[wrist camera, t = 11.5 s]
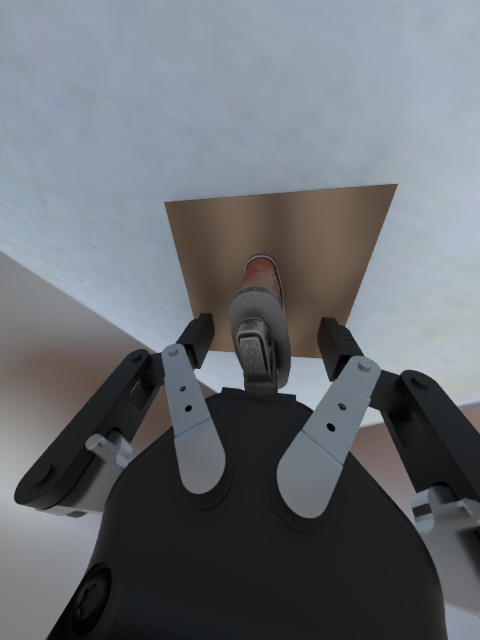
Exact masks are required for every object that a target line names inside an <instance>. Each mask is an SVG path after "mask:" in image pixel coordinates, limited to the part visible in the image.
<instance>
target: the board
mask: <svg viewBox="0 0 480 640" xmlns="http://www.w3.org/2000/svg"><path fill="white" fill-rule="evenodd" d="M397 185H398V184H389V185H376V186H363V187H351V188H338V189H325V190H313V191H300V192H288V193H275V194H262V195H250V196H237V197H225V198H212V199H199V200H187V201H174V202H164V203H165V207H166V211H167V215H168V219H169V222H170V226H171V230H172V234H173V238H174V242H175V246H176V249H177V253H178V257H179V261H180V265H181V269H182V273H183V276H184V280H185V284H186V288H187V292H188V296H189V299H190V303H191V307H192V311H193V315H194V319H198V317H199V316H200V314H201V313H212V316H213V321H214V327H215V335H214V338H213V340H212V343H211V345H210V347H209V350H211V351H225V352H235V348H234V343H233V339H232V334H231V323H230V306H231V303H232V300H233V298H234V296H235V295H236V293H237V292H238V291H239V290H240V287H241V284H242V281H243V278H244V276H245V265H246V263H247V261H248V259H249V258H250V257H251V256H253V255H254V254H257V253H266V254H269V255H271V256H272V257H273V258H274V260H275V262H276V265H277V269H278V272H279V275H280V279H281V285H282V291H283V301H284V307H285V313H286V319H287V326H288V334H289V340H290V347H291V356H294V357H308V358H322V356H321V353H320V350H319V346H318V343H317V333H318V330H319V326H320V322H321V319H322V317H334V318H335V319H336V320H337V322H338V324H339V325H343V326H345V325H346V322H347V320H348V317H349V314H350V312H351V309H352V306H353V304H354V301H355V298H356V295H357V293H358V290H359V287H360V285H361V282H362V279H363V277H364V274H365V271H366V269H367V266H368V263H369V260H370V258H371V255H372V252H373V250H374V247H375V244H376V242H377V239H378V236H379V234H380V231H381V228H382V226H383V223H384V220H385V217H386V215H387V212H388V209H389V207H390V204H391V201H392V199H393V196H394V193H395V191H396V188H397Z"/></svg>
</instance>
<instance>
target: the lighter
mask: <svg viewBox="0 0 480 640" xmlns="http://www.w3.org/2000/svg"><path fill="white" fill-rule="evenodd" d="M230 323H231V334H232V339H233V343H234V348H235V352H236V355H237V357H238V360H239V362H240V365H241V367H242V369H243V371H244V373H243V375H244V387H245V391H247V392H249V393H252V394H255V395H265V394H272V393H278V389H280V388H282V387H284V386H285V385H286V384H287V381H288V377H289V372H290V365H291V347H290V340H289V334H288V326H287V319H286V313H285V307H284V301H283V291H282V285H281V279H280V275H279V272H278V269H277V265H276V262H275V260H274V258H273V257H272V256H271V255H269V254H266V253H257V254H254V255H253V256H251V257H250V258H249V259H248V261H247V263H246V265H245V276H244V278H243V281H242V284H241V287H240V290H239V291H238V292H237V293H236V295H235V296H234V298H233V300H232V303H231V306H230Z"/></svg>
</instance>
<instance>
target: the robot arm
mask: <svg viewBox="0 0 480 640" xmlns="http://www.w3.org/2000/svg"><path fill="white" fill-rule="evenodd" d="M214 335H215V327H214V321H213V316H212V313H201V314H200V316H199V317H198V319H194V320H192V321H191V322H190V323H189V324H188V326H187V328H186V329H185V330H184V332H183V333H182V335H181V336H180V338H179V339H178V341H177V342H176V344H172V345H169V346H167V347H166V348H165V349H164V350H163V351H162V352H161V353H156V354H151V355H150V354H149V352H148V351H147V350H145V349H139V350H136V351H134V352H131V353H130V354H129V355H127V356H126V358H125V359H124V360H123V361H122V362H121V364H120V365H119V366H118V367H117V368H116V369H115V371H114V372H113V373H112V374H111V375H110V376H109V377H108V378H107V380H106V381H105V382H104V383H103V384H102V386H101V387H100V388H99V389H98V390H97V391H96V393H95V394H94V395H93V396H92V397H91V398H90V399H89V401H88V402H87V403H86V404H85V405H84V407H83V408H82V409H81V410H80V411H79V412H78V413H77V415H76V416H75V417H74V418H73V419H72V420H71V422H70V423H69V424H68V425H67V426H66V427H65V429H64V430H63V431H62V432H61V433H60V434H59V436H58V437H57V438H56V439H55V440H54V441H53V443H52V444H51V445H50V446H49V447H48V448H47V450H46V451H45V452H44V453H43V454H42V456H41V457H40V458H39V459H38V460H37V461H36V463H34V465H33V466H32V467H31V468H30V469H29V471H28V472H27V473H26V474H25V475H24V477H23V478H22V479H21V481H20V482H19V484H18V486H17V488H16V490H15V494H14V500H15V502H16V503H17V504H20V505H24V506H28V507H33V508H35V509H36V510H38V511H41V512H46V513H50V514H54V515H59V516H63V515H66V516H70V517H75V518H77V517H81V516H83V515H85V514H87V513H95V514H102V521H101V526H100V530H99V534H98V538H97V541H96V545H95V548H94V551H93V554H92V557H91V559H90V562H89V565H88V568H87V570H86V572H85V574H84V577H83V578H82V580H81V582H80V584H79V586H78V588H77V590H76V591H75V593H74V595H73V596H72V598H71V600H70V601H69V603H68V605H67V606H66V608H65V610H64V611H63V613H62V614H61V616H60V617H59V619H58V621H57V622H56V624H55V625H54V627H53V628H52V630H51V631H50V633H49V635H48V636H47V638H46V639H45V640H448V637H447V631H446V622H445V608H444V605H447V606H450V607H453V608H456V609H459V610H462V611H464V612H467V613H470V614H473V615H476V616H479V617H480V434H479V433H478V431H477V430H476V429H475V428H474V427H473V425H472V424H471V423H470V422H469V421H468V419H467V418H466V417H465V416H464V414H463V413H462V412H461V411H460V410H459V408H458V407H457V406H456V405H455V404H454V402H453V401H452V400H451V399H450V398H449V396H448V395H447V394H446V393H445V392H444V390H443V389H442V388H441V387H440V386H439V384H438V383H437V382H436V381H435V380H433V379H432V378H431V377H429V376H427V375H425V374H423V373H421V372H418V371H414V370H405V371H403V372H402V373H401V374H400V375H398V374H394V373H391V372H387V371H384V370H381V369H380V367H379V366H378V364H377V363H375V362H374V361H373V360H371V359H369V358H367V357H365V356H364V355H363V353H362V351H361V349H360V348H359V346H358V344H357V343H356V341H355V339H354V338H353V337H352V334H351V333H350V331H349V330H348V329H347V328H346V327H345V326H343V325H339V324H338V322H337V320H336V319H335V318H334V317H322V319H321V322H320V326H319V330H318V333H317V343H318V346H319V350H320V353H321V356H322V359H323V362H324V365H325V368H326V372H327V375H328V378H329V381H330V382H333V383H332V385H331V386H330V388H329V389H328V391H327V392H326V394H325V395H324V397H323V398H322V400H321V401H320V403H319V404H318V406H317V407H316V409H315V410H314V411H313V410H312V409H310V408H309V407H307V406H306V405H304V404H302V403H300V402H298V401H296V395H292V394H282V393H272V394H265V395H255V394H252V393H249V392H247V391H244V390H241V389H236V388H226V387H222V391H221V393H217V394H214V395H211V396H209V397H207V398H205V399H204V398H203V395H202V392H201V390H200V387H199V384H198V382H197V379H196V377H195V374H194V369H200V368H201V366H202V364H203V361H204V359H205V357H206V354H207V352H208V350H209V347H210V345H211V343H212V340H213V338H214ZM137 382H138V384H137V385H136V383H137ZM135 385H136V387H135V388H134V390H133V391H132V389H133V387H134V386H135ZM161 385H165V387H166V392H167V397H168V402H169V407H170V413H171V418H172V423H173V426H172V427H171V428H170V429H168V430H167V431H166V432H165V433H164V434H163V435H161V436H160V437H159V438H158V439H157V440H156V441H154V442H153V443H152V444H151V445H150V446H149V447H147V448H146V449H145V450H144V451H143V452H141V453H140V454H139V455H138V456H137V457H136V458H135V459H133V460H132V461H131V462H130V456H131V453H132V445H131V441H132V439H133V437H134V435H135V434H136V432H137V430H138V428H139V426H140V424H141V423H142V421H143V419H144V417H145V415H146V413H147V411H148V409H149V408H150V406H151V404H152V402H153V400H154V398H155V396H156V394H157V393H158V391H159V389H160V387H161ZM131 391H132V393H131ZM130 393H131V394H130ZM368 406H369V407H371V408H374V409H377V410H379V411H380V413H381V415H382V417H383V419H384V422H385V424H386V426H387V428H388V431H389V433H390V435H391V437H392V440H393V442H394V444H395V446H396V448H397V451H398V453H399V455H400V457H401V460H402V462H403V464H404V466H405V469H406V471H407V473H408V475H409V478H410V480H411V482H412V484H413V487H414V489H415V491H416V494H415V495H413V497H412V500H411V505H412V511H413V514H414V519H415V527H414V525H413V524H412V522H411V521H410V520H409V519H408V518H407V516H406V515H405V514H404V512H403V511H402V510H401V509H400V508H399V507H398V506H397V504H396V503H395V502H394V501H393V500H392V499H391V498H390V496H388V495H387V493H386V492H385V491H384V490H383V489H382V487H381V486H380V485H379V484H378V483H377V482H376V481H375V479H374V478H373V477H372V476H371V475H370V474H369V473H368V472H367V470H366V469H365V468H364V467H363V466H362V465H361V464H360V462H359V461H358V460H357V459H356V458H355V457H354V456H353V454H352V453H351V452H350V451H349V449H350V447H351V445H352V442H353V440H354V438H355V435H356V433H357V431H358V429H359V426H360V424H361V422H362V419H363V417H364V415H365V412H366V410H367V408H368Z"/></svg>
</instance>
